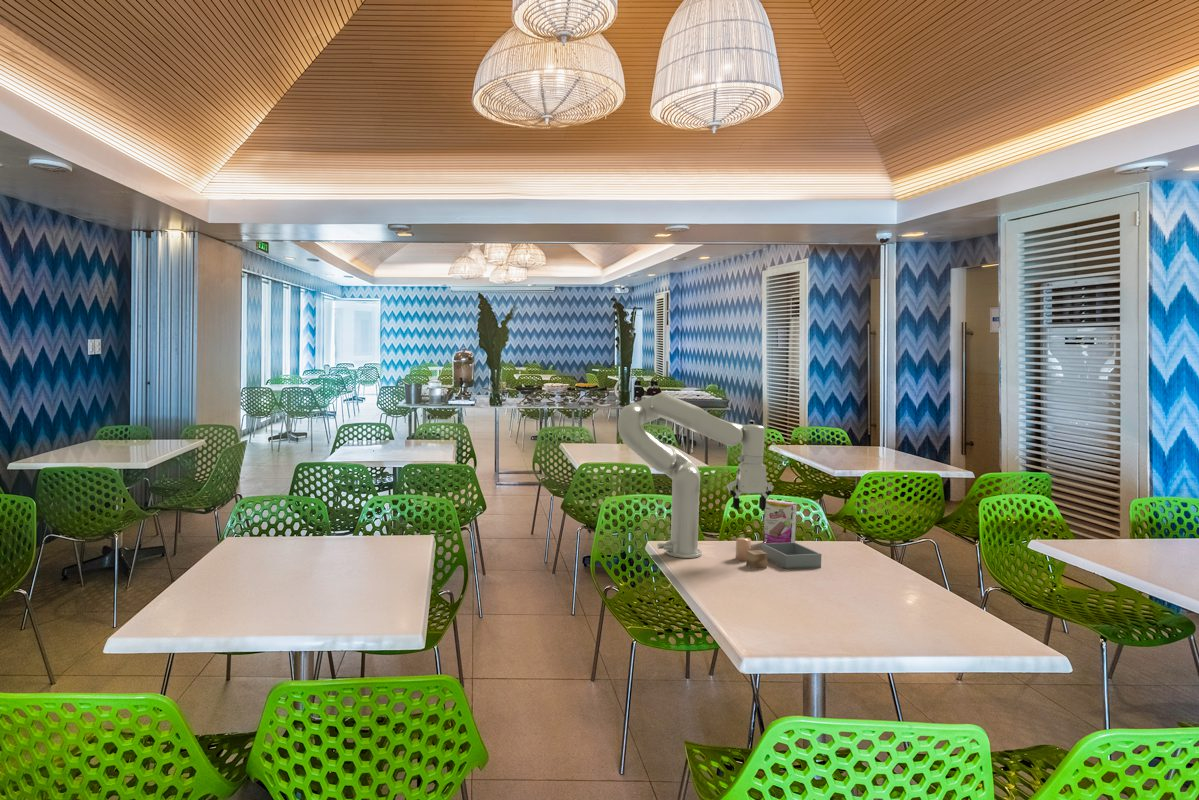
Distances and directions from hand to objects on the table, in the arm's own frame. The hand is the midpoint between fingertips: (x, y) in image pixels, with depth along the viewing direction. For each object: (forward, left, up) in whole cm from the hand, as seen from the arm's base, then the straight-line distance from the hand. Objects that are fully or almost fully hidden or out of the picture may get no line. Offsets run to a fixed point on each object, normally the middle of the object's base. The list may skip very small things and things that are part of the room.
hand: (749, 509), depth 263 cm
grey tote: (+13, -7, -17) cm, 23 cm away
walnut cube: (-2, -11, -17) cm, 21 cm away
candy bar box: (+22, +17, -18) cm, 33 cm away
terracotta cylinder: (-2, -1, -17) cm, 17 cm away
